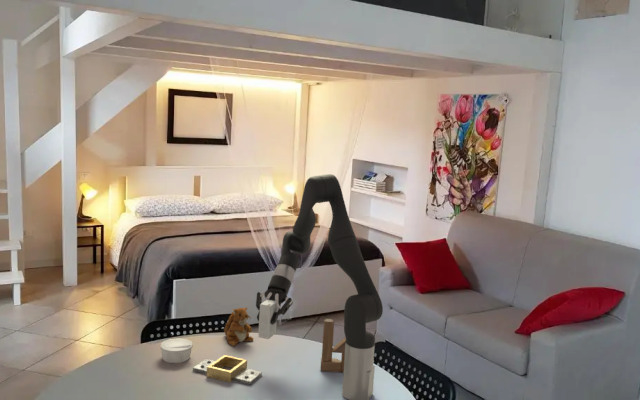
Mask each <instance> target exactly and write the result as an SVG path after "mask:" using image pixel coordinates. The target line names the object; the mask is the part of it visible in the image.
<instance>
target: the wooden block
mask: <svg viewBox="0 0 640 400" xmlns="http://www.w3.org/2000/svg"><path fill="white" fill-rule="evenodd" d="M334 329H335V321H334V319H333V318H332V319H331V318H325V319H324V320H323V331H322V332H323V333H322V349H321V351H322V352H321V358H320V372H330V373H331V372H332V373H333V372H334V373H342V374H343V373H344V358H345V343H346V337H345V336H344V338H342V339H341V340H340V341H339V342H337V344H335V345H334V333H335V331H334ZM333 345H334V346H333ZM333 353H335V354H336V353H337V354H341V358H340V359H341V360H340V359H339V358H336V357H335V358H333Z"/></svg>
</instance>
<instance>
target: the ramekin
mask: <svg viewBox="0 0 640 400" xmlns="http://www.w3.org/2000/svg"><path fill="white" fill-rule="evenodd" d="M193 344H194V343H193V342H192V341H191V340H189V339H186V338H180V337H178V338H177V337H176V338H170V339H165V340H164V341H162V342H161V343H160V346H159V347H160V350H161V352H160V353H161V358H162V360H164V361H165V362H166V363H170V364H181V363H185V362H186V361H188V360H189V359H190V358H191V354H192V349H193Z"/></svg>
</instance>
